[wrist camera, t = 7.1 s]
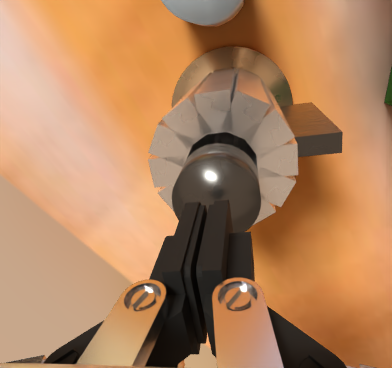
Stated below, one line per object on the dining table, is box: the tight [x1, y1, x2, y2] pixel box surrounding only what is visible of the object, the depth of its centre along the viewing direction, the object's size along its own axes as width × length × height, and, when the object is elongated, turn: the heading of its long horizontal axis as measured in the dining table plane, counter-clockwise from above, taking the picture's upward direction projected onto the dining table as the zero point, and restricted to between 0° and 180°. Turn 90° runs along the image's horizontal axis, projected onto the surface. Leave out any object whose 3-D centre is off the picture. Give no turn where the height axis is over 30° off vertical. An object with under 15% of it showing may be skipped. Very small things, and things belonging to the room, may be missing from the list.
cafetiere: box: [148, 46, 342, 225], centre depth 27 cm, size 14×13×17 cm
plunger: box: [172, 132, 261, 233], centre depth 24 cm, size 4×4×19 cm
